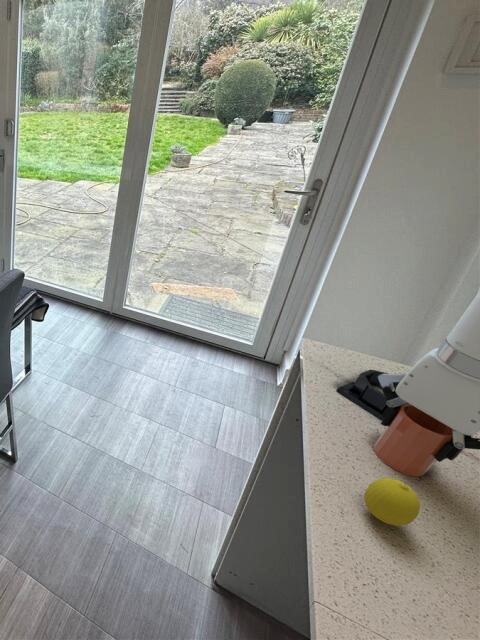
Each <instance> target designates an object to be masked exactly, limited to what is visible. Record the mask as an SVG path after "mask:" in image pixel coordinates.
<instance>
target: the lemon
mask: <svg viewBox="0 0 480 640" xmlns="http://www.w3.org/2000/svg"><path fill="white" fill-rule="evenodd" d="M363 496H364V497H363V499H364V500H363V501H364V503H365V506H366V508H367V510H368V511H369V512H370V513H371V514H372V515H373V517H375V518H376V519H378V520H379V521H381V522H382V523H385V524H386V525H387V524H388V525H391V526H395V527H396V526H397V527H399V526H400V527H401V526H406V525H409V524H411V523H412V522H414V521H415V519H417V517H418V516H419V513H420V510H421V509H420V508H421V502H420V499H419V496H418V495H417V493H416V492H415V491H414V490H413V489H412V488H411V487H410V486H409V485H408V484H405V483H404V482H403V481H401V480H398V479H394V478H389V477H384V478H379V479H377V480H374V481H373V482H370V484H369V485H368V486H367V487H366V489H365V491H364V495H363Z"/></svg>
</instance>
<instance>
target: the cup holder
mask: <svg viewBox="0 0 480 640" xmlns="http://www.w3.org/2000/svg"><path fill="white" fill-rule="evenodd" d="M381 374H390V373H388V372H384V371H380V370H376V369H368V370H366V371H363V372H360V374H359V375H358V377H357V378H356V380H355V382H354V381H351V382H349V383H346V384H344V385H340V386H339V387H337V389H335V391H336V392H337V393H339V394H341V395H342V396H343V397H345V398H347V399H348V400H350V401H351V402H352V403H354V404H355V405H357V406H359V407H361V408H362V409H363V410H365V411H367V412H368V413H370V414H372V415H373V416H375V418H377V419H379V420H380V421H381V422H382V421H383V419H384V418H383V417H381V415H382V414H383V412H384V411H385V409H386V408H387V406H388V405H387V403H386V402H387V399H386V397H385V395H384V393H383V391H380V390H379V389H377V388H375V387H379V388H382V386H381V384H380V382H379V379H378V376H379V375H381ZM399 383H400V382H393V386H394V387H395V388H396V387H397V386H398V384H399ZM374 386H375V387H374ZM406 404H409V403H406ZM404 405H405V404H404Z"/></svg>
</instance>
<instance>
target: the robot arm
mask: <svg viewBox="0 0 480 640" xmlns="http://www.w3.org/2000/svg"><path fill="white" fill-rule="evenodd" d="M378 379H379V382H380V384H381V386H382V387H381V388H382V389H381V390H382V391H381V392H382V393H384V395H385V397H386V399H387V402H386V403H387V405H388V406H387V408H386V409H385V411H384V412H383V414H382V415H381V417H383V418H384V419H383V421H382V420H381V422H380V425H381V426H383V427H387V426H388V425H389V423H390V422H391V420H392V419H393V418H394V416H395V415H396V413H397V412H398V411H399V409H400V408H401V406H403V405H404V404H406V403H409V404H411V405H413V406H414V407H416V408H418V409H419V410H421V411H423V412H424V413H426V414H428V415H430V416H431V417H433V418H435V419H436V420H438V421H440V422H442V423H443V424H445V425H447V426H448V427H450V428H452V433H453V440H452V441H450V442H448V443H446V444H445V446H444V447H443V448H442V449H441V450H440V452H439V453H438V454H437V455H436V456H435V460H436V461H437V462H439V463H441V462H443V461H444V460H446V459H448V460H449V461H454V460H455V459H456V458H457V457H458V456H459V455H460V454H461V452H462V451H463V450H464V449H468V450H478V451H479V450H480V437H474V435H476V434H477V433H479V432H480V286H479V287H478V290H477V294H476V295H475V297H474V298H473V299H472V301H471V303H470V304H469V305H468V307H467V308H466V310H464V312H463V314H462V315H461V316H460V317H459V319H458V320H457V322H456V324H455V325H454V326H453V328H451V331H450V332H449V333H448V335H447V336H446V338H445V339H444V341H443V342H442V343H441V345H440V347H435V348H432V349H431V350H430V351H429V352H427V353H426V354H425V355H423V356H422V357H421V358H419V360H418V361H417V362H416V363H415V364H414V365H413V366H412V367H411V369H409V370H408V372H407V373H389V374H381V375H379V376H378ZM393 382H400V383H399V384H398V386H397V387H396V388H395V387H394V386H393Z"/></svg>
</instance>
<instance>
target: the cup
mask: <svg viewBox="0 0 480 640" xmlns="http://www.w3.org/2000/svg"><path fill="white" fill-rule="evenodd" d="M385 427H386V428H385V429H384V430H383V431H382V432H381V434H380V436H379V437H378V439H377V440H376V441H375V444H374V445H373V451H374V453H375V455H376V456H377V458H379V459H380V460H381V461H382V462H383V463H384V464H385V465H387V466H389V467H390V468H392V469H393V470H395V471H396V472H399V473H402V474H404V475H407V476H410V477H423V476H424V475H425V474H426V473H427V472H428V471H429V470H430V469H431V467H432V466H433V465H434V464H435V462H436V461H437V460H435V456H436V455H437V454H438V453H439V452H440V450H441V449H442V448H443V447H444V446H445V444H446V443H448V442H450V441H452V440H453V433H452V428H450V427H448V426H447V425H445V424H443V423H442V422H440V421H438V420H436V419H435V418H433V417H431V416H430V415H428V414H426V413H424V412H423V411H421V410H419V409H418V408H416V407H414V406H413V405H411V404H405V405H403V406H401V408H400V409H399V411H398V412H397V413H396V415H395V416H394V418H393V419H392V420H391V422H390V423H389V425H388V426H385Z"/></svg>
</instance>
